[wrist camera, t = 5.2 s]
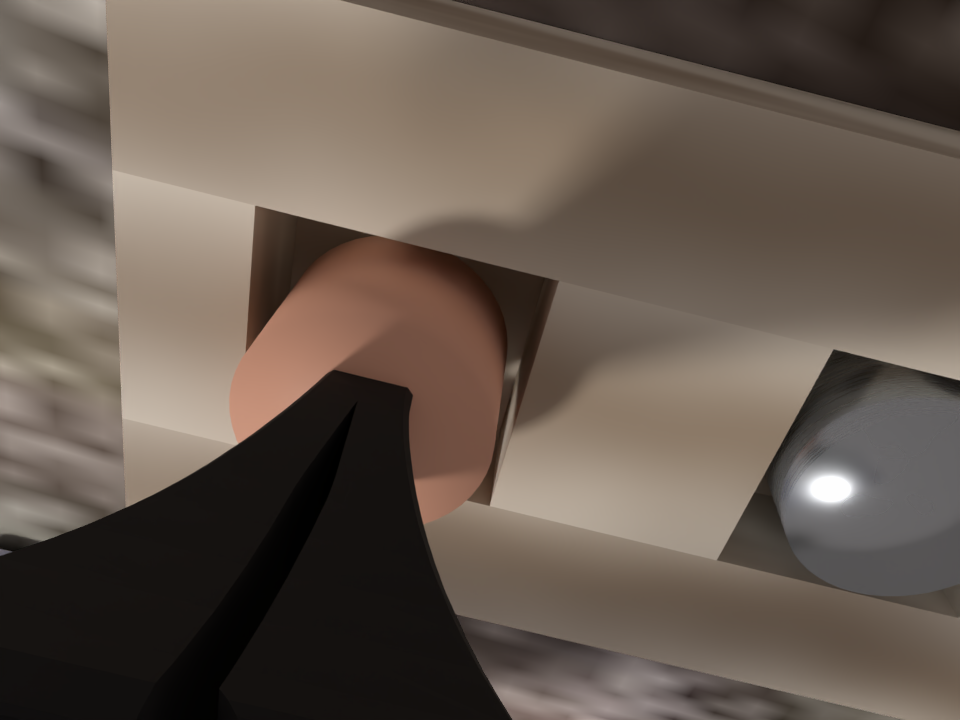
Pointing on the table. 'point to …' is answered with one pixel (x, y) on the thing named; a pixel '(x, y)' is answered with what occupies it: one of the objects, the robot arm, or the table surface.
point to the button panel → (555, 301)
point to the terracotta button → (390, 355)
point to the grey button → (873, 478)
